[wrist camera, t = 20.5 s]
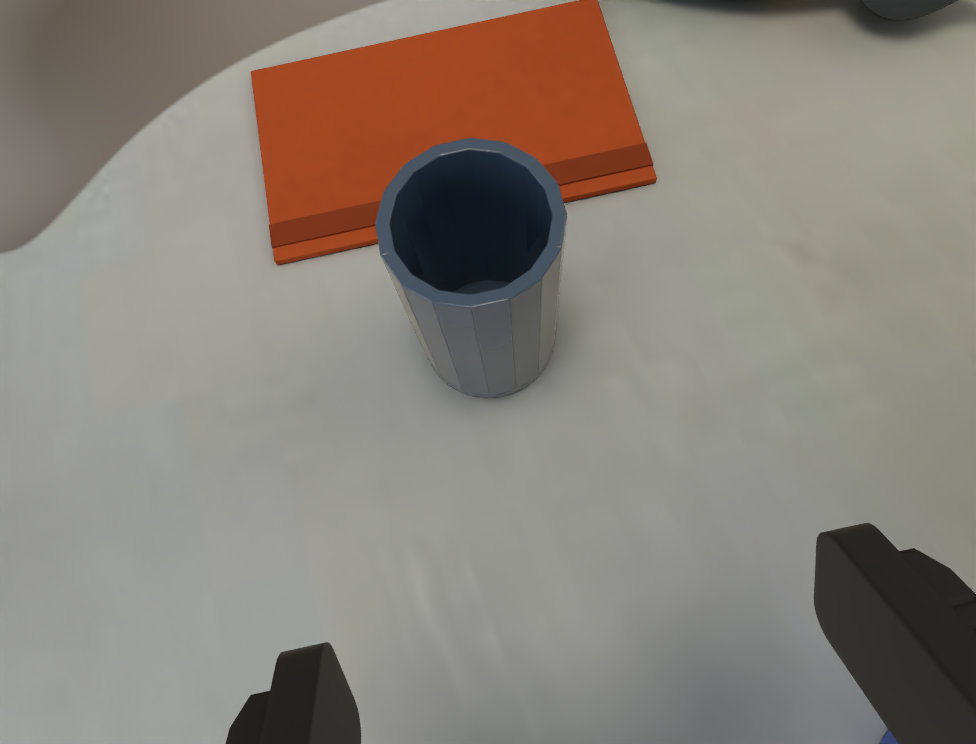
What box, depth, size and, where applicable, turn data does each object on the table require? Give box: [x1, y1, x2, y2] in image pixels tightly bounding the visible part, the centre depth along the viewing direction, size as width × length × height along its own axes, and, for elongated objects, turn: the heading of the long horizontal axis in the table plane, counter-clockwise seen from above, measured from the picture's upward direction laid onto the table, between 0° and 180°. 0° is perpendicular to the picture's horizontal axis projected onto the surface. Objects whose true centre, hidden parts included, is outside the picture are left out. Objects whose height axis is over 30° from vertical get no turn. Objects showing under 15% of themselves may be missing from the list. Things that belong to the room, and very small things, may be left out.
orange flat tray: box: [251, 0, 657, 265], centre depth 33 cm, size 18×11×1 cm, turn 102°
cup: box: [375, 138, 567, 398], centre depth 25 cm, size 6×6×10 cm
